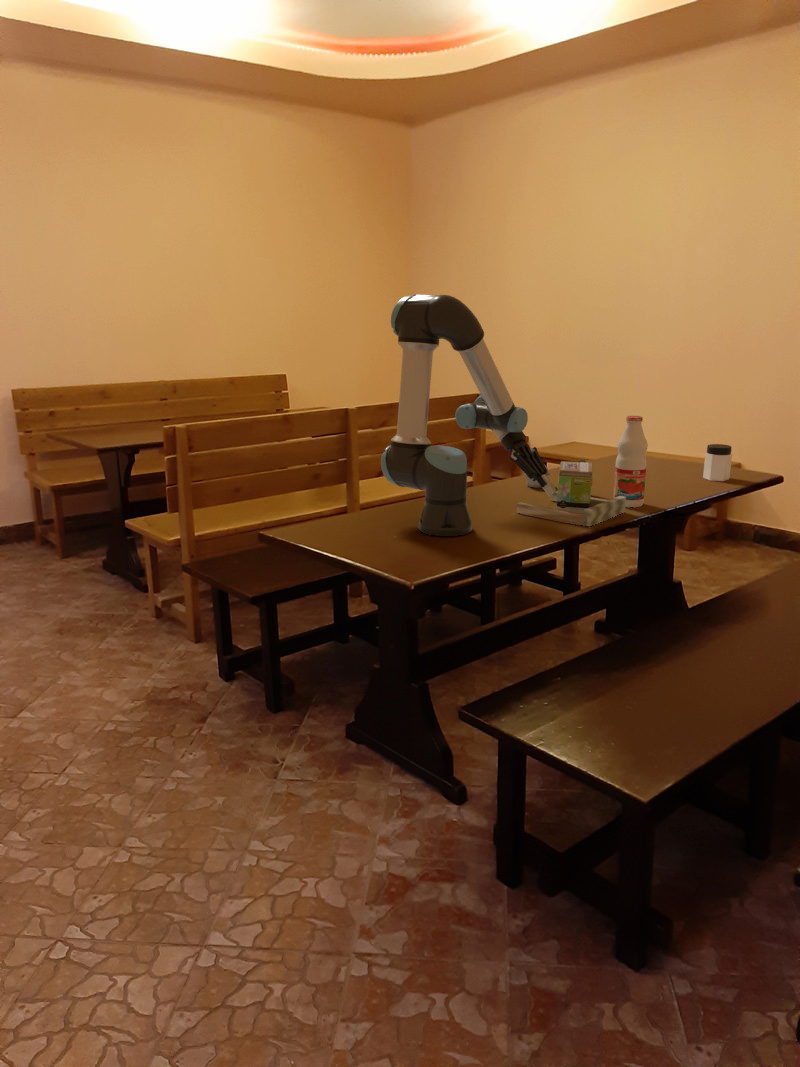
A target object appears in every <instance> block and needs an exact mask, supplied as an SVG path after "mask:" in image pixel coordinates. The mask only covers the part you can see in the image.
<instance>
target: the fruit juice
mask: <svg viewBox="0 0 800 1067" xmlns="http://www.w3.org/2000/svg"><path fill="white" fill-rule="evenodd" d="M625 420H626V425H625V427H624V429H623V432H622V434H621V435H620V438H619V439H618V441H617V445H616V446H617V451H618V452H617V453H618V454H617V456H616V459H615V469H614V482H613V496H612V497H613V498H616V497H618V496H625V497H626V507H625V508H630V507H633V508H640V507H642V506H643V504H644V501H645V491H646V490H645V489H646V477H647V457H646V453H647V450H648V445H649V444H648V440H647V438H646V437H645V433H644V431H643V426H642V423H643V416H641V415H626V418H625ZM613 498H612V499H613Z"/></svg>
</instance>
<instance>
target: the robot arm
mask: <svg viewBox="0 0 800 1067" xmlns="http://www.w3.org/2000/svg"><path fill="white" fill-rule="evenodd" d="M390 314H391V315H390V326H391V328H392V332H393V333H394V335H396V336H397V344H398V345H399V346H400V348H401V349H402V355H401V357H402V358H401V370H400V372H401V373H400V381H399V382H400V386H399V396H398V397H399V399H398V412H397V425H396V426H397V427H396V434H395V435H394V436H393V437H392V438H391V439H390V445H388V446H386V447H385V449H384V452H383V453H382V455H381V459H380V467H381V471H382V474H383V476H384V478H386V480H387V482H389V483H390V484H392V485H395V486H399V487H402V488H410V489H415V490H419V491H420V490H421V491H424V505H423V509H422V511H421V516H420V519H419V520H418V531H419V530H420V531H421V532H423V533H426V534H430V535H436V536H435V537H437V536H455V537H459V536H458V535H462V536H465V535H464V534H466V535H468V534H470V533H472V531H473V523H472V520H471V516H470V512H469V509H468V506H467V485H468V484H467V483H468V482H467V481H468V464H467V461H468V459H467V455H466V453H465V452H464V451H463V450H461V449H459V448H456V447H454V446H448V445H446V446H444V445H432V442H431V440H430V439H429V438H428V437H427V432H428V431H427V430H428V422H429V421H428V420H429V419H428V417H429V409H430V408H429V406H430V395H431V394H430V393H431V380H432V368H433V358H434V356H433V355H434V351H435V350H436V349H437V348H438V347H439V346H440V340H445V341H446V342H448V343H449V344H450V345H451V347H452V349H453V350H454V351H456V352H458V353H459V355H460V357H461V359H462V361H463V362H464V365H465V367H466V369H467V370H468V372H469V374H470V376H471V378H472V381H473V382H474V384H475V387H476V389H477V390H478V392H479V394H480V395H479V396H478V397H477V398H476V399H475V401H474V402H472V403H468V402H467V403H465V404H463V405H460V406H458V408H457V409H456V411H455V416H454V418H455V421H456V424H457V426H459V427H460V428H461V429H464V430H468V429H469V430H471V429H476V428H477V429H483V430H490V431H492V432H493V434H494V435H495V437H496V439H498V441H500V444H501V445H502V446H503V448H504V449H505V451H507V452H509V451H510V453H511V455H509V457H508V458H509V459H510V460H511V461H513V462H514V463H515V464H516V466H517V467H518V468H520V469H521V471H522V472H524V473H525V474H526V475H527V476H528V477H529V478H530V479H533V481H536V480H537V481H538V483H539V484H540V485H541V487H542V488H541V489H543V490H544V492H545V493H546V495H547V497H548V498H549V497H550V498H551V496H552V495H553V494H554V493H555V492H556V491H558V489H557V488H556V487H555V486H554V485H553V483H552V482H551V480H550V479H549V478H547V476H546V475H545V474H546V473H547V469H546V467H545V464H544V461H543V459H542V458H541V456H540V454H539V453H538V448H537V447H536V446H534V447H530V445H529V444H528V442H526V440H527V439H526V438H527V436H526V435H525V433H524V429H525V428H526V427H527V424H528V420H529V416H528V412H527V410H526V409H524V408H523V407H520V406H515V403H514V401H513V400H512V397H511V395H510V393H509V391H508V388H507V386H506V384H505V382H504V380H503V378H502V375H501V373H500V372H499V369H498V367H497V365H496V363H495V361H494V359H493V357H492V355H491V353H490V351H489V348H488V346H487V344H486V342H485V340H484V337H485V331H484V329H483V327H482V325H481V323H480V322H479V320H478V318H477V317H476V315H475V314H474V313H473V311H472V310H471V309H470V308H469V307H468V306H467V305H466V304H465V303H463V301H461V300H460V299H458V298H456V297H455V296H452V295H447V294H437V295H436V294H414V295H413V294H412V295H405V296H403V297H402V298H400V299H399V300H398V301H397V302H396V303H395V304H394V307H393V309H392V311H391V313H390ZM524 473H523V474H524ZM420 531H419V532H420ZM421 532H420V533H421ZM469 532H470V533H469ZM423 533H422V534H423ZM467 533H468V534H467ZM426 534H425V535H426ZM430 535H429V536H430Z"/></svg>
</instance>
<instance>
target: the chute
mask: <svg viewBox="0 0 800 1067" xmlns="http://www.w3.org/2000/svg"><path fill="white" fill-rule="evenodd" d="M557 491H558V490H557ZM557 491H556V492H555V493H554V494H553V495H552V496H550V501H551V502H553V501H555V503H557ZM626 508H627V507H626V497H625V496H618V497H616V498H610V499H604V498H598V497H592V496H591V498H590V508H587V509H585V510H584V514H580V513H575V512H569V511H564V510H559V509H556V508H553V507H546V506H542V505H536V504H533V503H530V504H529V503H525V502H518V503H516V514H518V513H520V515H524V516H529V517H533V518H534V517H535V518H539V519H545V520H549V521H550V520H551V521H554V522H559V523H566V524H569V523H570V524H571V525H575V524H576V525H575V526H580V525H583V526H582V527H585V526H592V525H594V526H596V525H595V524H597V525H599V524H601V523H600V522H602V523H603V521H604V522H606V521H608V519H609V520H610V518H611V519H613V518H615V516H616V517H618V516H620V515H619V514H621V513H623V514H625V513H626ZM624 512H625V513H624ZM617 515H618V516H617ZM621 515H622V514H621ZM612 517H613V518H612ZM598 523H599V524H598ZM592 527H593V526H592Z"/></svg>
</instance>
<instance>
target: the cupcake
mask: <svg viewBox="0 0 800 1067" xmlns="http://www.w3.org/2000/svg"><path fill="white" fill-rule="evenodd" d="M544 465H545V464H544ZM545 467H546V469H547V473H546V474H545V475H546V476H547V478H548V479H549V477H550V475H551V473H550V472H549V468H548V467H547V465H545ZM522 472H523V471H522ZM523 474H524V477H525V480H526V485H528V486H529V488H531V487H534V488H533V489H543V488H542V487H541V485H540V484H539V483H538V481H537V480H536V481H533V479H530V478H529V477H528V476H527V475H526V474H525V473H524V472H523ZM528 486H527V487H528Z"/></svg>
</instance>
